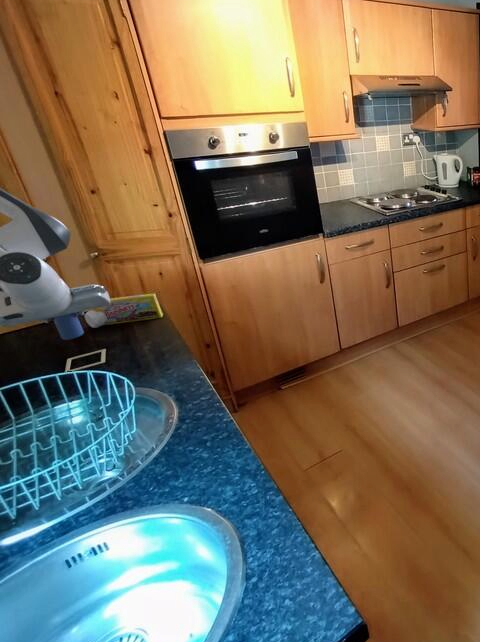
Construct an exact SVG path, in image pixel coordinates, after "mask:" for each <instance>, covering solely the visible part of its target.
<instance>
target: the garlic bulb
mask: <svg viewBox="0 0 480 642" xmlns="http://www.w3.org/2000/svg"><path fill="white" fill-rule="evenodd" d="M83 317H84V319H85V321H86V324H88V326H90V327H91V328H92V329H93V328H94V329H97V328H100V327H102V326H104V325H103V324H105V322H106V321H107V317H106V316H105V315H104V313H101V312H96V311H94V310H93V309H89V310H87V312H86V313H84V315H83Z"/></svg>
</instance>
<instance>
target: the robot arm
mask: <svg viewBox="0 0 480 642" xmlns="http://www.w3.org/2000/svg"><path fill="white" fill-rule="evenodd" d="M0 213H1V214H3V215H4V216H6V217H8V218H10V219H11V221H10V222H8V223H6V224H4V225H2V226H0V327H1V328H10V327H14V326H20V325H23V324H24V325H25V324H28V323H34V322H44V323H46V324H49V323H54V321H53V318H52V317H57V316H61V315H66V314H70V313H75V315H76V316H77V317H80V316H84V315H85V312H86V311H90V310H93V308H98V307H102V306H107V305H108V304H110V295H109V292H108V291H107V289H106V287H105V286H103V285H99V284H86V285H81V286H76V287H69V286H68V284H67V283H66V282H65V281H64V280H63V279H62V278H61V277H60V276H59V274H58V273H57V272H56V270H55V269H54V268H53V267H52V266H50V265H49V264H48V263H47V262H45V259H47V258H49V257H52V256H54V255H56V254H58V253H60V252H62V251H64V250H67V249H68V247H69V244H70V242H71V236H72V235H71V234H72V233H71V232H70V230H69V229H68V228H67V226H66V225H65V224H64V223H62V222H61V220H59V219H57V218H56V217H54V216H51V215H49V214H47V213H45V212H43V211H41V210H40V209H39V208H36V207H34V206H32V205H30V204H28V203H27V202H25V201H22V200H21V199H19V198H18V197H16V196H14V195H13V194H11V193H9V192H8V191H6V190H4V189H2V188H1V187H0Z"/></svg>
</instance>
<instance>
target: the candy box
mask: <svg viewBox="0 0 480 642" xmlns="http://www.w3.org/2000/svg"><path fill="white" fill-rule="evenodd" d="M92 310H94V311H96V312H101V313H104V315H105V316H106V317H107V321H106V322H105V324H103V325H102V326H108V325H117V324H124V323H133V322H139V321H146V320H155V319H160V318H161V319H162V318H163V316H164V313H163V311H162V308H161V306H160V303H159V300H158V297H157V295H156V293H155V292H154V293H147V294H146V293H145V294H137V295H129V296H128V295H127V296H119V297H111V298H110V304H108V305H107V306H102V307H98V308H93V309H92Z"/></svg>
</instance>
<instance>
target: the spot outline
mask: <svg viewBox="0 0 480 642" xmlns="http://www.w3.org/2000/svg"><path fill="white" fill-rule="evenodd" d="M106 351H107V349H106V348H103V349H99V350H96V351H92V352H89V353H85V354H84V353H83V354H81V355H77V356H73V357H70V358H67V360H66V363H65V370H64V373H65V372H67V371H73V372H76V371H80V370H83V369H86V368H90V367H93V366H97V365H100V364H104V363H106ZM98 353H101V355H100V361H97V362H95V363H91V364H87V365H84V366H80V367H77V368H73V369H71V365H72V364H71V363H72V360H76V359H80V358H83V357H88V356H91V355H95V354H98Z"/></svg>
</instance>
